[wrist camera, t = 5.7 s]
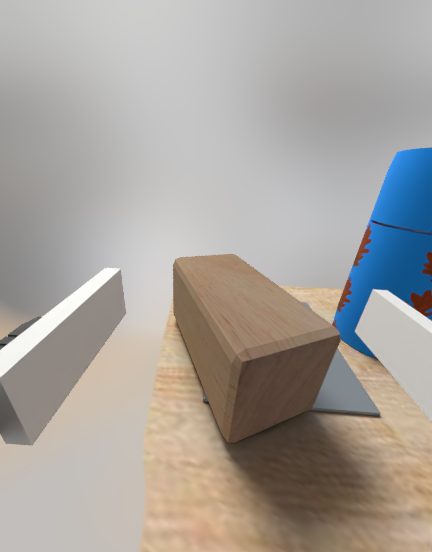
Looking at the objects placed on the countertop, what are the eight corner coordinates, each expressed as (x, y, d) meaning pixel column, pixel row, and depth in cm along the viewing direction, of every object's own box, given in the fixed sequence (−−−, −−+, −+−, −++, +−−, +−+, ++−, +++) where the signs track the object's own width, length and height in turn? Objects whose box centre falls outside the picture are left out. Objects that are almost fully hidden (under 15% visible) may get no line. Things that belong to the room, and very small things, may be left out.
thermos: (326, 310, 40) (379, 156, 29) (391, 323, 37) (475, 161, 27) (340, 351, 30) (427, 143, 20) (429, 372, 28) (582, 150, 17)
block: (350, 331, 17) (235, 251, 34) (240, 363, 13) (171, 255, 30) (316, 411, 21) (228, 305, 38) (225, 453, 18) (172, 315, 34)
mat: (306, 304, 41) (307, 302, 41) (378, 415, 22) (380, 413, 22) (212, 296, 41) (212, 295, 41) (203, 401, 22) (203, 398, 22)
